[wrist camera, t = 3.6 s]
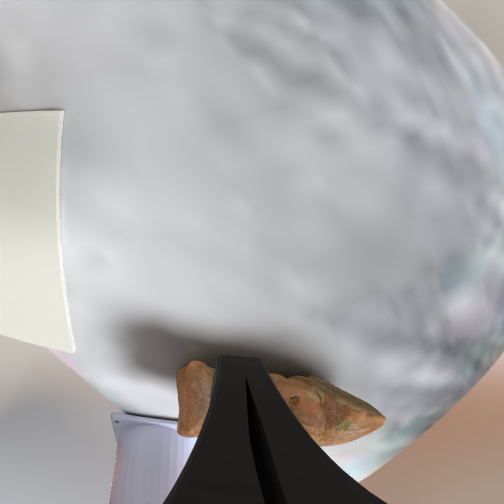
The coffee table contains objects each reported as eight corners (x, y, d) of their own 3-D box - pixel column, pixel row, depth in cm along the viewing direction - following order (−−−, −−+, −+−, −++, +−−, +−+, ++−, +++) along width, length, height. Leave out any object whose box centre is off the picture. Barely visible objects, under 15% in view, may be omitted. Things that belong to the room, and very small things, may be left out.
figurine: (157, 370, 21) (317, 352, 28) (176, 478, 17) (335, 433, 25) (198, 347, 14) (387, 325, 22) (229, 507, 11) (410, 424, 19)
